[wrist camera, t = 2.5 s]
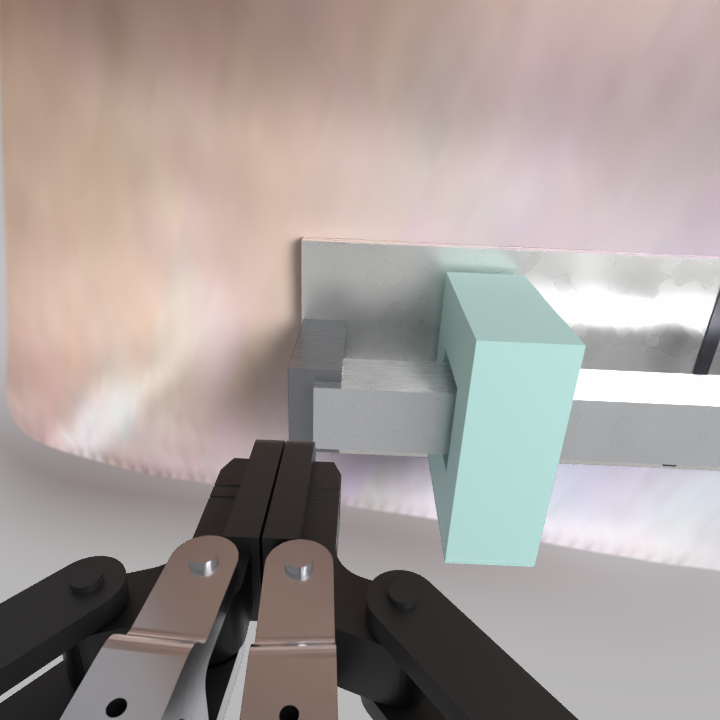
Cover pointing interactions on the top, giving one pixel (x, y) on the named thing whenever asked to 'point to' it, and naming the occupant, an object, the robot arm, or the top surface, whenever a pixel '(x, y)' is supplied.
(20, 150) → the top surface
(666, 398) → the grey piece
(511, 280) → the collar
